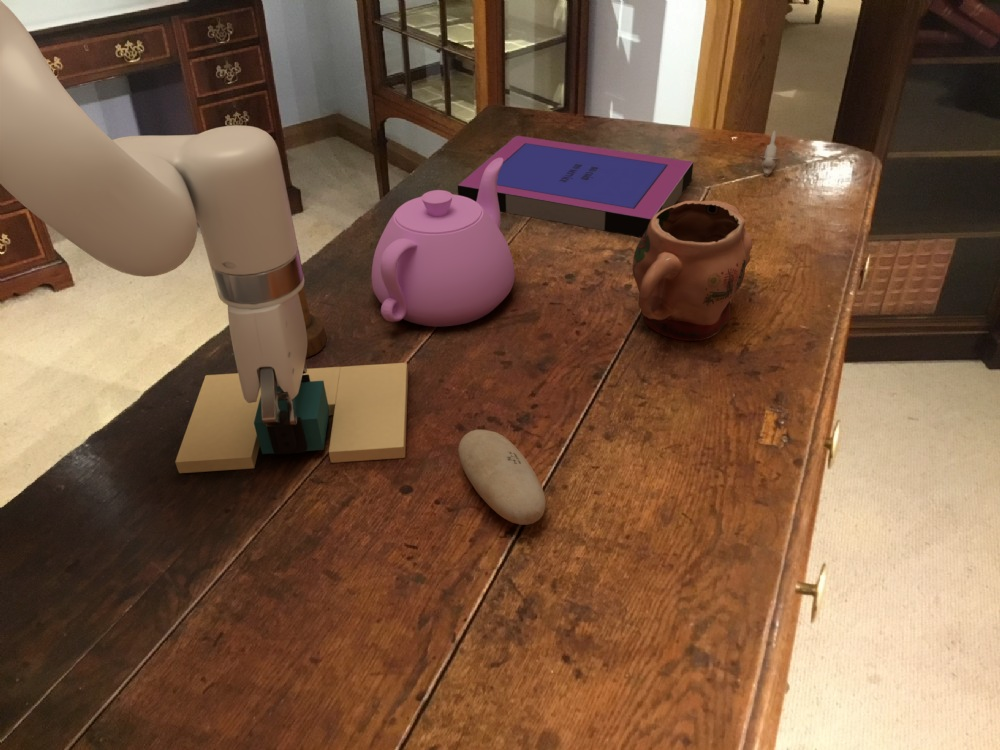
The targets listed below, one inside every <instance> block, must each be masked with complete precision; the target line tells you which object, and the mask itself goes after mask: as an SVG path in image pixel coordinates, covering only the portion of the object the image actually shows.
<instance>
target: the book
mask: <svg viewBox="0 0 1000 750" xmlns="http://www.w3.org/2000/svg"><path fill="white" fill-rule="evenodd" d="M497 158H503V164H502V167H501V169H500V171H499V174H498V179H497V196H498V202H499V208H500V213H501V212H502V213H507V214H513V215H519V216H523V217H529V218H535V219H540V220H546V221H551V222H555V223H562V224H567V225H572V226H577V227H583V228H589V229H594V230H600V231H604V232H611V233H616V234H620V235H621V234H622V235H627V236H632V237H638V238H642V236H643V235H644V233H645V231H646V230H647V227H648V224H649V222H650V221H651V219H652V218H653V217H654V216H655V215H656V214H657V213H658V212H660V211H661V210H663V209H666V208H668V207H671V206H673V205H676V204H677V202H678V201H679V199H680V197H681V196H682V195H683V193H684V192H685V190H686V189H687V187H688V186H689V184H690V183H691V182H692V180H693V179H692V177H693V170H694V161H692V160H685V159H679V158H672V157H671V158H670V157H664V156H657V155H651V154H643V153H638V152H637V153H636V152H629V151H623V150H617V149H610V148H602V147H596V146H589V145H583V144H576V143H571V142H561V141H555V140H550V139H549V140H548V139H541V138H536V137H529V136H522V135H515V136H514V137H513V138H511V139H510V140H509V141H508V142H507V143H506V144H505V145H503V146H502V147H501V148H500V149H498V150H497V151H496V152H495V153H494V154H493V155H491V156H490V157H488V159H486V160H485V161H484V162H483V163H482V164H481V165H479V166H478V167H477V168H476V169H474V171H472V172H471V173H470V174H469V175H467V177H465V178H464V179H463V180H462V181H460V182H459V183H458V184H457V195H459V196H464V197H467V198H470V199H472V200H474V201H475V202H476V201H477V196H478V192H479V187H480V182H481V179H482V176H483V173H484V171H485V169H486V167H487V166H488V165H489V164H490V163H491V162H492V161H493V160H495V159H497Z"/></svg>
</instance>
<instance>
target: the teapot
mask: <svg viewBox="0 0 1000 750" xmlns="http://www.w3.org/2000/svg"><path fill="white" fill-rule="evenodd" d="M502 164H503V158H497V159H495V160H493V161H492V162H491V163H490V164H489V165H488V166H487V167H486V169H485V171H484V173H483V176H482V179H481V182H480V187H479V192H478V196H477V201H476V202H475V201H474V200H472V199H470V198H467V197H464V196H459V195H458V194H452V193H451V192H450V191H448V190H443V189H433V190H430V191H427V192H425V193H423V194H422V195H421V196H418V197H415V198H412V199H409V200H407V201H406V202H404V203H403V204H401V205H400V206H399V207H398V208H396V210H395V212H394V213H393V214H392V216H391V218H390V219H389V221H387V224H386V226H385V228H384V230H383V232H382V233H381V236H380V237H379V240H378V243H377V245H376V247H375V251H374V253H373V259H372V267H371V287H372V291H373V293H374V295H375V297H376V299H377V300H378V301H379V303H381V307H380V315H381V316H382V318H383V319H384V320H385V321H386V322H390V323H391V322H392V323H395V322H400V321H402V320H404V321H406V322H409V323H412V324H415V325H418V326H419V325H420V326H425V327H437V328H438V327H440V328H443V327H454V326H460V325H464V324H468V323H471V322H474V321H478V320H479V319H482V318H483V317H485V316H487V315H488V314H490V313H491V312H492V311H494V310H495V308H496V309H497V307H498V306H499V305H500V304H501V303H502V302H503V301H504V300H505V299H506V298H507V296H509V293H510V292H511V291H512V288H513V286H514V284H515V279H516V275H515V274H516V273H515V264H514V259H513V256H512V253H511V249H510V246H509V244H508V242H507V240H506V237H505V236H504V234H503V233H502V231H501V223H502V222H501V211H500V208H499V202H498V196H497V179H498V174H499V171H500V169H501V167H502Z"/></svg>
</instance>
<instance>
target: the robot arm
mask: <svg viewBox="0 0 1000 750" xmlns="http://www.w3.org/2000/svg"><path fill="white" fill-rule="evenodd" d="M0 185H1V186H2V187H3V188H4V189H5V190H6V191H7V192H8V193H9V194H10V195H11V196H12V197H13V198H14V199H16V200H17V201H18V202H19V203H20V204H21V205H23V206H24V207H25V208H26V209H27V210H28V211H30V212H31V213H32V214H33V215H34V216H36V217H37V218H38V219H39V220H41V221H42V222H44V223H45V224H46V225H47V226H49V227H50V228H52V229H53V230H54V231H55V232H57V233H58V234H60V235H61V236H62V237H63V238H66V239H67V240H68V241H69V242H70V243H72V244H73V245H75V246H76V247H78V248H79V249H80V250H82V251H83V252H85V253H86V254H87V255H88V256H90V257H92V258H93V259H94V260H96V261H98V262H100V263H102V264H104V265H105V266H106V267H109V268H110V269H113V270H115V271H117V272H120V273H123V274H126V275H130V276H134V277H142V278H143V277H144V278H146V277H148V278H149V277H157V276H161V275H164V274H168V273H169V272H170V273H171V272H172V271H174V270H176V269H178V268H179V267H180V266H181V265H182V264H184V263H185V262H186V260H187V259H188V258H189V257H190V255H191V254H192V251H193V249H194V248H195V244H196V241H197V237H198V226H199V230H200V234H201V237H202V241H203V244H204V248H205V252H206V255H207V259H208V262H209V266H210V270H211V274H212V277H213V281H214V285H215V287H216V288H215V289H216V291H217V296H218V299H219V300H220V302H222V303H223V304H225V305H226V306H227V317H228V326H229V334H230V339H231V345H232V350H233V357H234V360H235V361H234V362H235V366H236V370H237V373H238V375H239V379H240V384H241V388H242V393H243V396H244V399H245V400H246V401H247V402H248V403H252V402H256V401H257V397H258V393H259V389H260V388H261V412H262V422H263V423H265V424H266V427H267V429H268V433H269V437H270V440H271V444H272V448H273V452H274V453H273V454H275V455H288V454H289V455H290V454H303V453H306V452H308V451H307V442H306V438H305V433H304V429H303V425H302V420H301V417H297V413H296V405H295V397H296V395H297V394H298V392H299V388H300V384H301V382H310V378H309V375H303V374H306V373H307V369H308V365H307V361H306V359H307V358H306V353H307V332H306V326H305V321H304V316H303V311H302V307H301V303H300V299H299V295H298V292H299V291H301V289H302V288H303V286H304V287H305V281H306V280H305V276H304V270H303V269H304V268H303V266H302V259H301V254H300V250H299V246H298V240H297V235H296V231H295V225H294V220H293V215H292V210H291V204H290V199H289V196H288V191H287V186H286V180H285V175H284V170H283V164H282V160H281V155H280V152H279V147H278V145H277V143H276V141H275V140H274V138H273V136H271V135H270V133H268V132H267V131H265V130H263V129H261V128H259V127H256V126H252V125H239V124H237V125H225V126H219V127H214V128H211V129H208V130H205V131H202V132H200V133H196V134H182V135H181V134H180V135H175V134H174V135H129V136H122V137H118V138H113V139H112V138H111V137H109V136H108V135H107V134H106V133H105V132H104V131H103V130H102V129H101V128H100V127H99V126H98V125H97V124H96V122H95V121H93V120H92V119H91V118H90V117H89V116H88V114H86V112H85V111H84V110H83V109H82V108H81V107H80V106H79V105H78V103H77V102H76V101H75V100H74V98H73V97H72V96H71V95H70V93H69V92H68V91H67V90H66V89H65V87H64V86H63V85H62V83H61V82H60V81H59V79H58V77H57V76H56V75H55V73H54V72H53V70H52V68H51V67H50V65H49V64H48V62H47V60H46V58H45V57H44V54H43V53H42V51H41V50H40V48H39V46H38V45H37V43H36V41H35V40H34V38H33V36H32V35H31V34H30V32H29V31H28V30H27V28H26V27H25V25H24V24H23V23H22V22H21V20H20V19H19V18H18V17H17V15H16V14H15V13H14V12H13V11H12V10H11V9H10V8H9V6H7V5H6V4H5V3H4V2H3V1H2V0H0ZM277 387H281V389H282V390H283V391H277ZM281 400H287V408H288V412H287V411H285V410H282V411H280V410H279V408H278V401H281Z"/></svg>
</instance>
